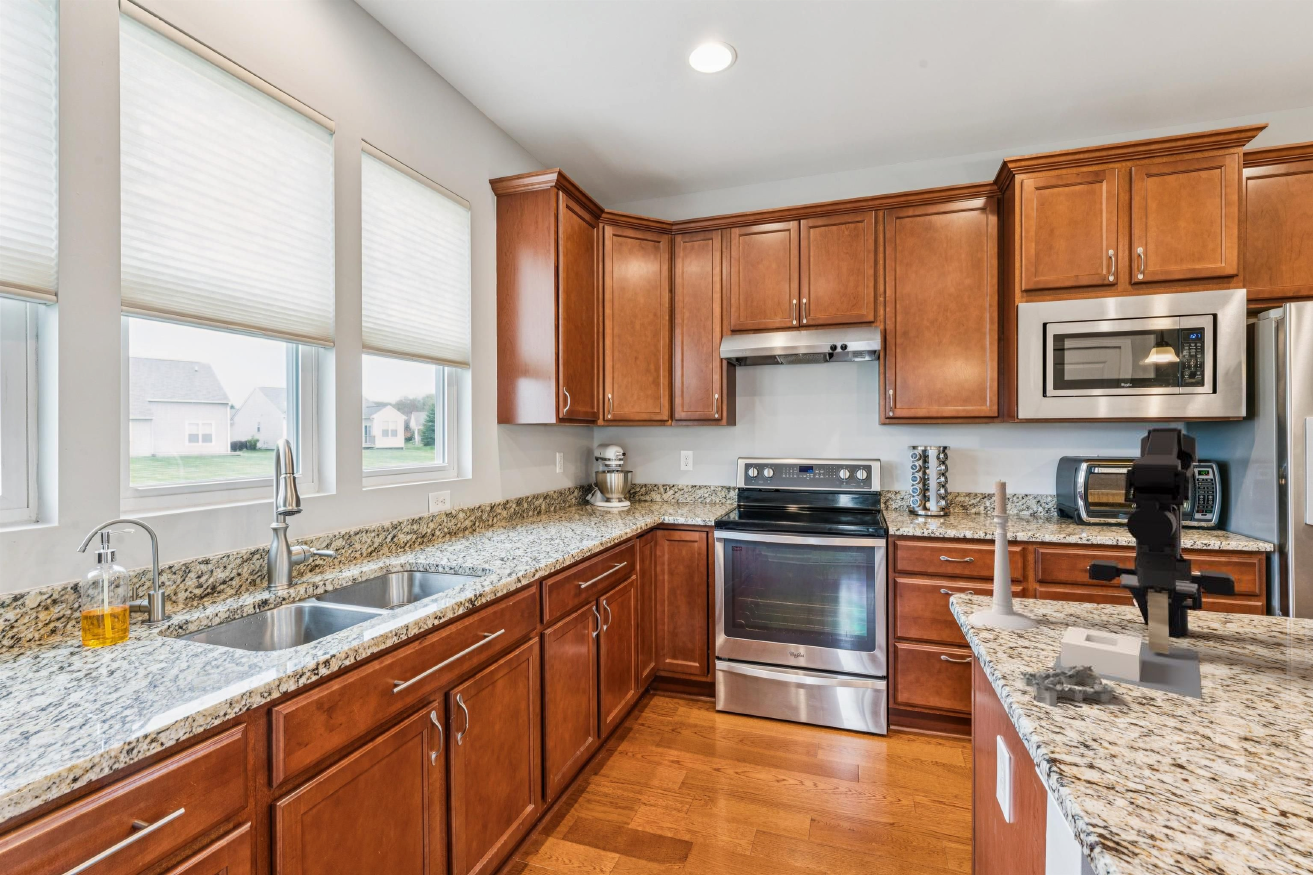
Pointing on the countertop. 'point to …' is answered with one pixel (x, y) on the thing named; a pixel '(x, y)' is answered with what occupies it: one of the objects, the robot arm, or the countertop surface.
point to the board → (1163, 671)
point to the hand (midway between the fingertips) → (1158, 626)
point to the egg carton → (1054, 686)
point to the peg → (1158, 620)
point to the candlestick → (1001, 577)
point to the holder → (1102, 652)
